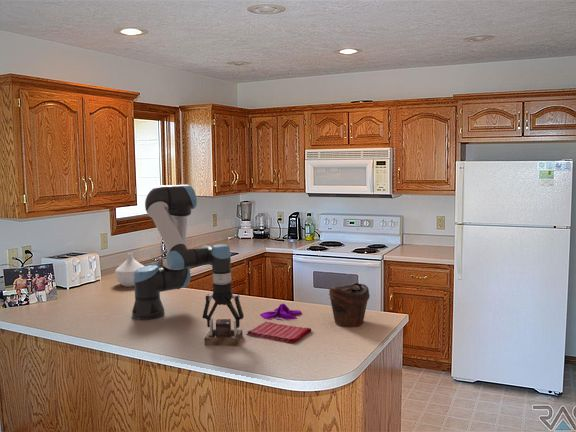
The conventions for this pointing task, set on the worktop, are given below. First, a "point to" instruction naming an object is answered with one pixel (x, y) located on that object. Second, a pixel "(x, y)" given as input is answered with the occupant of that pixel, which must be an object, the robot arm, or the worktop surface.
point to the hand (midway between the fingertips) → (223, 334)
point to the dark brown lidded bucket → (349, 304)
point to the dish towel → (279, 332)
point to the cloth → (281, 313)
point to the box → (223, 328)
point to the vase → (127, 271)
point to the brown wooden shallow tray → (223, 339)
